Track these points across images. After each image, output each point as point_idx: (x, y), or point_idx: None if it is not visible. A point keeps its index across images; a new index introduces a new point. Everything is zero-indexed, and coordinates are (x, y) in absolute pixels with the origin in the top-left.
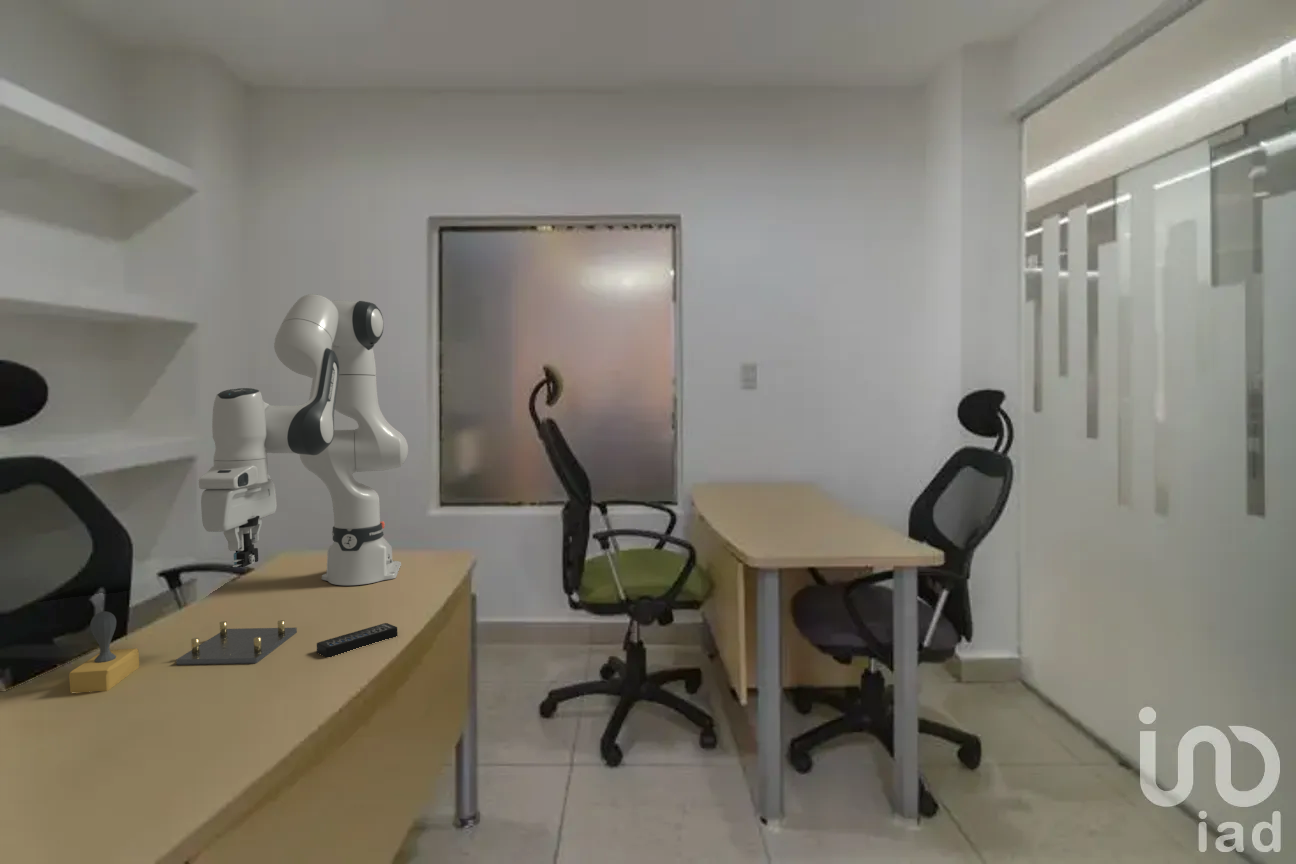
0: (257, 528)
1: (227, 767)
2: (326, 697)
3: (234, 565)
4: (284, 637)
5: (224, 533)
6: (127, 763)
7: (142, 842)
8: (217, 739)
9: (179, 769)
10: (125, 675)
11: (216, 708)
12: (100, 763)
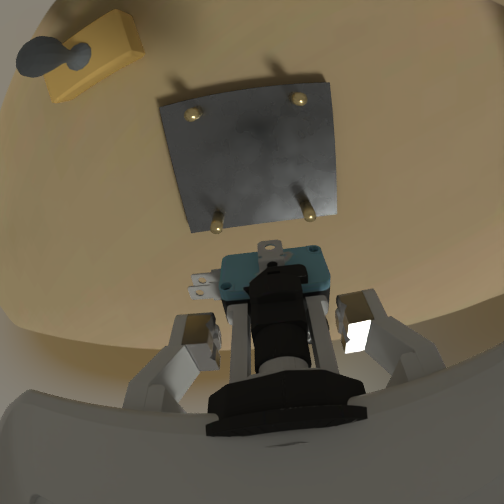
0: (384, 363)
1: (49, 320)
2: (141, 337)
3: (205, 274)
4: (289, 219)
5: (132, 384)
6: (17, 261)
7: (10, 315)
8: (58, 297)
9: (32, 297)
10: (102, 78)
11: (83, 265)
12: (8, 244)
